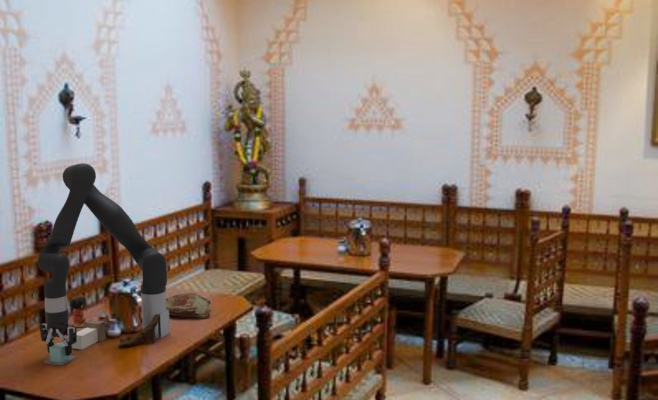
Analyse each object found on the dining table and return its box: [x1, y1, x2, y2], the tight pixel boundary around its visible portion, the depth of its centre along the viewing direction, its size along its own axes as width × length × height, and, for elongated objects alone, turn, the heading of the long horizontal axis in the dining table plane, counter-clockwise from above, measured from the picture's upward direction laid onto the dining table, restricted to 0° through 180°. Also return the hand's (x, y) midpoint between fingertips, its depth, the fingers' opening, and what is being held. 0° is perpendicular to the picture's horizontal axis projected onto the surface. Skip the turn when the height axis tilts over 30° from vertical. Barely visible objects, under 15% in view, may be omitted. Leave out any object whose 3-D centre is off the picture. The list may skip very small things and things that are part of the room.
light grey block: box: [72, 319, 107, 350], centre depth 268 cm, size 7×12×7 cm, turn 161°
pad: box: [42, 355, 78, 366], centre depth 252 cm, size 8×8×1 cm
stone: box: [166, 292, 212, 319], centre depth 303 cm, size 24×18×6 cm
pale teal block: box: [49, 342, 71, 363], centre depth 251 cm, size 4×5×5 cm
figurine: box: [69, 295, 87, 328], centre depth 287 cm, size 6×6×12 cm
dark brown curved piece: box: [117, 315, 159, 348], centre depth 267 cm, size 8×10×15 cm
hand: (59, 354), depth 251 cm, fingers open, 6 cm apart
